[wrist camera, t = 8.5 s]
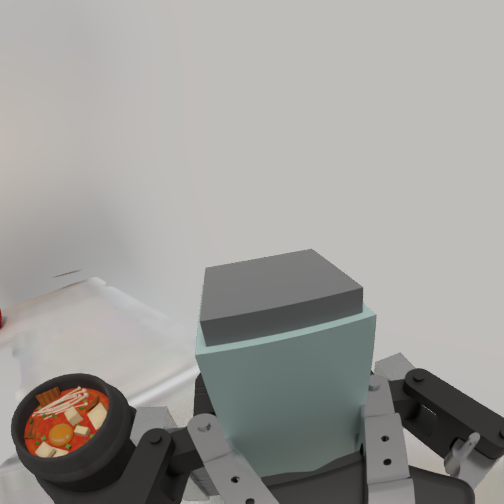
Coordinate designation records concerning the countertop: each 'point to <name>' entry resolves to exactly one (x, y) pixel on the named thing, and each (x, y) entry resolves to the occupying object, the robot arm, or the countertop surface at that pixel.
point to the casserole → (75, 437)
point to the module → (285, 358)
